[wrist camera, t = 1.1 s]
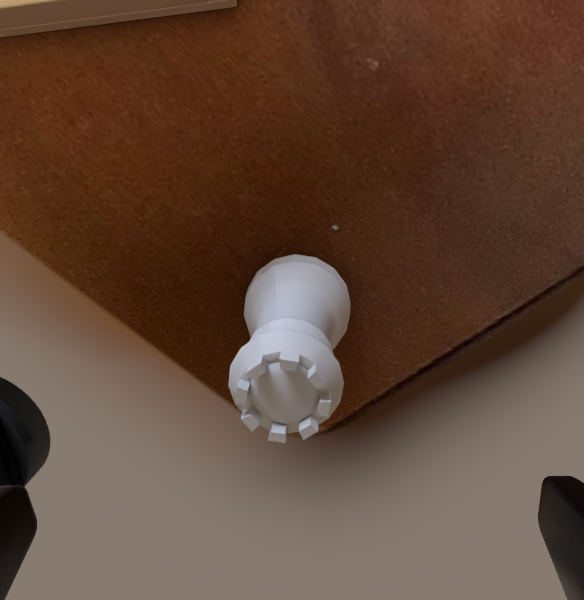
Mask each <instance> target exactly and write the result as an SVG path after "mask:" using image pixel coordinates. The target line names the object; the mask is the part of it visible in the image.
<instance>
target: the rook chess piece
mask: <svg viewBox="0 0 584 600" xmlns="http://www.w3.org/2000/svg"><path fill="white" fill-rule="evenodd" d="M350 306H351V302H350V298H349V294H348V289H347V285H346V283H345V282H344V281H343V279H342V278H341V277H340V275H339V274H338V273H337V271H336V270H335V269H334V268H333V267H331V266H330V265H328V264H326V263H325V262H323V261H321V260H319V259H318V258H316V257H310V256H303V255H297V254H294V255H289V256H285V257H281V258H277V259H274V260H272V261H271V262H270V263H268V264H267V265H266V266H264V267H263V268H261V269H260V270H259V271H258V272H257V273H256V275H255V277H254V278H253V280H252V282H251V284H250V285H249V287H248V290H247V294H246V299H245V308H244V317H245V321H246V324H247V327H248V330H249V333H250V336H251V339H250V341H249V342H248V343H247V344H246V345H244V346H243V347H241V349H240V350H239V352H238V353H237V355H236V357H235V358H234V360H233V362H232V363H231V365H230V374H229V384H228V386H229V388H230V391H231V394H232V397H233V400H234V403H235V405H236V406H237V407H238V408H239V409H240V411H241V412H242V416H241V420H242V421H243V422H244V424H245V425H246V426H247V427H248V428H249V429H250V430H251V431H252V432H253V431H254V430H255V429H256V428H257V427H258V426H261V427H263V428H265V429H267V430H270V432H269V438H268V440H269V441H275V442H281V443H286V438H287V433H294V432H299V433H300V435H301V436H302V438H303V440H304V439H306V438H308V437H310V436H311V435H313V434H315V433H316V432H318V425H319V424H320V423H322V422H324V421H325V420H327V419H328V418H329V417H330V416H331V414H332V413H333V412H334V410H335V409H336V408H337V406H338V405H339V403H340V401H341V396H342V391H343V386H344V380H343V376H342V372H341V368H340V364H339V362H338V361H337V359H336V358H335V357H334V354H333V351H332V350H333V349H334V348H335V347H336V346H337V344H338V343H339V341H340V340H341V338H342V337H343V335H344V334H345V333H346V331H347V327H348V322H349V317H350Z"/></svg>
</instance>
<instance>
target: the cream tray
mask: <svg viewBox="0 0 584 600" xmlns="http://www.w3.org/2000/svg"><path fill="white" fill-rule="evenodd" d="M236 6H237V3H236V0H0V37H8V36H15V35H23V34H31V33H38V32H46V31H54V30H62V29H69V28H77V27H85V26H92V25H100V24H108V23H116V22H123V21H131V20H139V19H146V18H154V17H162V16H169V15H177V14H185V13H193V12H200V11H208V10H216V9H223V8H231V7H236Z"/></svg>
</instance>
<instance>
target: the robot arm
mask: <svg viewBox="0 0 584 600" xmlns="http://www.w3.org/2000/svg"><path fill="white" fill-rule="evenodd" d="M538 522H539V527H540V531H541V533H542V536H543V538H544V541H545V544H546V546H547V549H548V551H549V554H550V556H551V559H552V561H553V564H554V567H555V569H556V572H557V574H558V577H559V579H560V582H561V584H562V587H563V589H564V592H565V595H566V597H567V600H584V483H582V482H581V481H580V480H578V479H576V478H574V477H572V476H548V477H546V478H545V479H544V480H543V483H542V488H541V496H540V504H539V512H538ZM36 530H37V519H36V516H35V513H34V510H33V507H32V504H31V501H30V498H29V495H28V492H27V490H26V489H25V486H24V484H23V481H22V478H21V475H20V472H19V469H18V467H17V464H16V461H15V458H14V455H13V452H12V450H11V447H10V444H9V441H8V438H7V435H6V433H5V430H4V427H3V424H2V421H1V418H0V600H5V598H6V596H7V594H8V592H9V589H10V587H11V585H12V583H13V581H14V579H15V577H16V575H17V572H18V570H19V568H20V566H21V564H22V562H23V560H24V558H25V555H26V553H27V551H28V549H29V547H30V545H31V542H32V541H33V538H34V536H35V533H36Z"/></svg>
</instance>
